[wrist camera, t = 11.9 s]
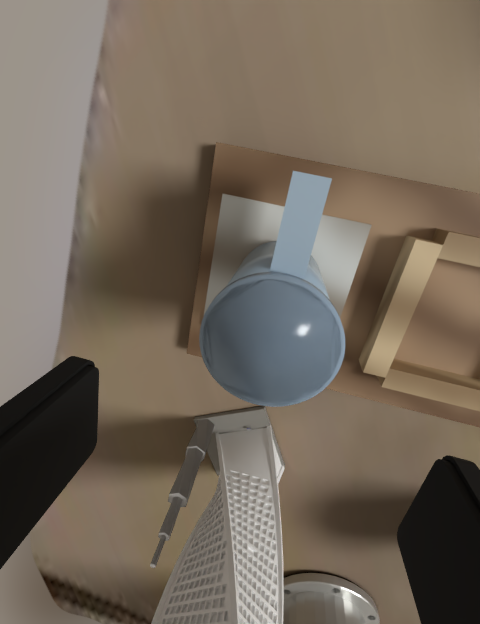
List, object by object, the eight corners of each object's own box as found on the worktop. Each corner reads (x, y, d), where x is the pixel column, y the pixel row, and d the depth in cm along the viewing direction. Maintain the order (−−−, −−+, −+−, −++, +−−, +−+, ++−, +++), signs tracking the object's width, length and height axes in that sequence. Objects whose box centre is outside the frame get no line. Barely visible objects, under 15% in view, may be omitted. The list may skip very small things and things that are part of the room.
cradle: (504, 405, 24) (519, 421, 22) (355, 368, 25) (359, 381, 23) (595, 260, 20) (623, 267, 18) (411, 222, 21) (421, 226, 19)
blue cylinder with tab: (309, 331, 24) (320, 420, 15) (228, 312, 25) (190, 387, 15) (353, 189, 20) (404, 192, 11) (255, 169, 21) (227, 155, 11)
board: (498, 423, 26) (509, 436, 25) (190, 346, 28) (185, 354, 27) (626, 224, 20) (651, 227, 18) (220, 144, 22) (215, 141, 21)
